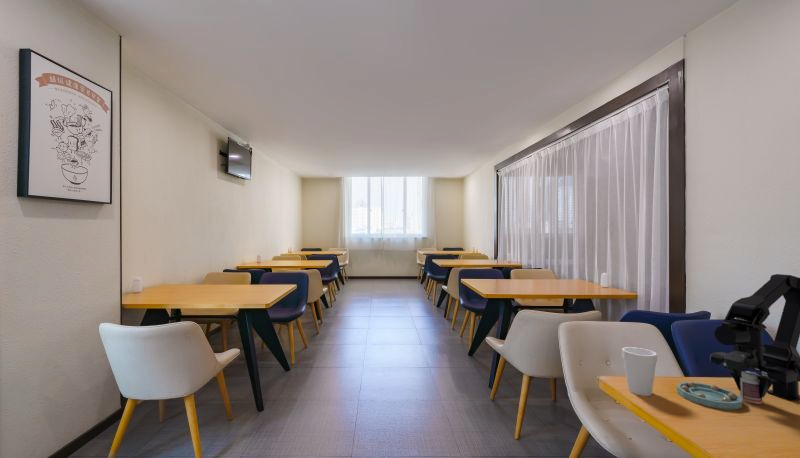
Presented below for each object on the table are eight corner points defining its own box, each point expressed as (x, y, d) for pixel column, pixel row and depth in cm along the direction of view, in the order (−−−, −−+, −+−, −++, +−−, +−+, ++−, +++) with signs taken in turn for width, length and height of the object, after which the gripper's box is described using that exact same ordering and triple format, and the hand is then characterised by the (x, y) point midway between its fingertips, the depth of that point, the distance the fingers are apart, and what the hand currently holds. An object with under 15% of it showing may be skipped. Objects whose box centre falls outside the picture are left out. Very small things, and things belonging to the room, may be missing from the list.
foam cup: (651, 388, 116) (651, 348, 116) (662, 399, 107) (661, 357, 108) (619, 384, 119) (618, 345, 119) (627, 395, 110) (626, 354, 111)
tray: (698, 385, 118) (697, 377, 118) (754, 405, 104) (754, 396, 104) (666, 391, 113) (666, 382, 113) (720, 413, 99) (720, 403, 99)
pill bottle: (766, 405, 104) (765, 376, 104) (748, 403, 105) (747, 375, 105) (754, 398, 109) (753, 371, 109) (736, 396, 110) (735, 369, 110)
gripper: (697, 337, 114) (699, 385, 114) (773, 354, 96) (775, 411, 96) (720, 334, 117) (721, 381, 117) (797, 351, 100) (799, 406, 99)
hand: (751, 394), depth 107 cm, fingers closed on pill bottle, 5 cm apart
